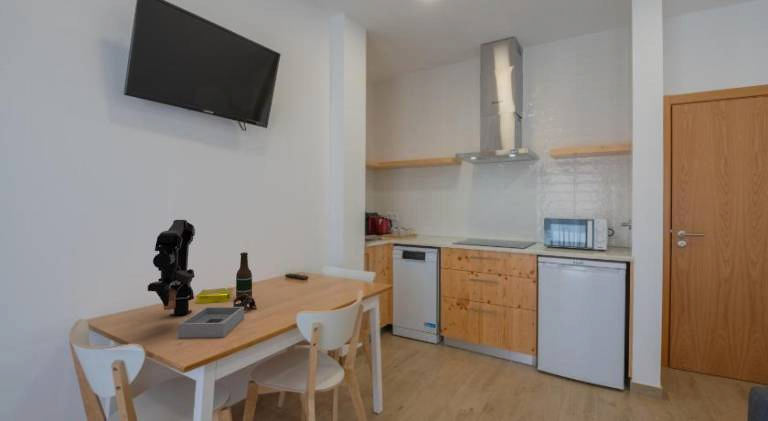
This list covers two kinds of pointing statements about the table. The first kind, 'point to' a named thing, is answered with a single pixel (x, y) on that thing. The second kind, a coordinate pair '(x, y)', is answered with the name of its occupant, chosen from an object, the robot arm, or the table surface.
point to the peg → (170, 301)
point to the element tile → (214, 295)
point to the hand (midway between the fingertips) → (169, 304)
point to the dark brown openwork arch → (245, 301)
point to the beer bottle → (244, 277)
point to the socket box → (211, 322)
